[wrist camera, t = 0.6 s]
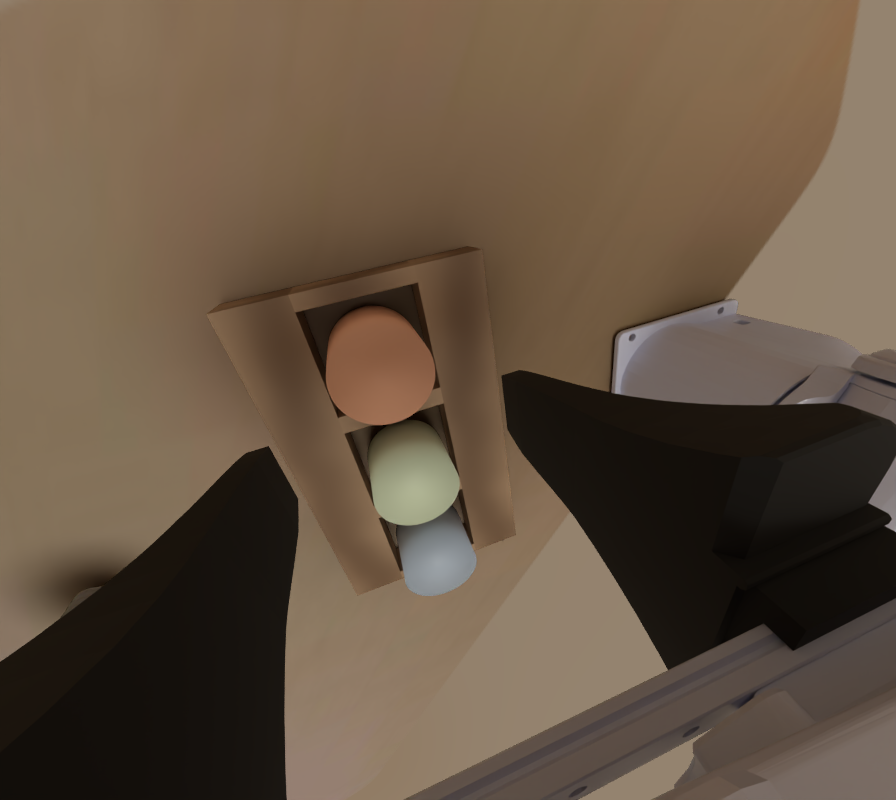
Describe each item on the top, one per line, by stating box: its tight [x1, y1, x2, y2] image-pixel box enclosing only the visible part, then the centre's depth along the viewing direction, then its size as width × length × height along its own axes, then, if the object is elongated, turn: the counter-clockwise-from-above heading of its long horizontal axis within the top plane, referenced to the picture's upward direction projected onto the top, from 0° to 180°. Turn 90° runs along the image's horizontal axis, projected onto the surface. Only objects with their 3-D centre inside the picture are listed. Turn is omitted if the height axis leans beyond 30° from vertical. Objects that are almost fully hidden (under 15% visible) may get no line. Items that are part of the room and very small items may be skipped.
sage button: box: [367, 420, 460, 525], centre depth 19 cm, size 4×4×4 cm
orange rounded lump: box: [326, 306, 435, 425], centre depth 16 cm, size 4×4×4 cm
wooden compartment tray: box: [206, 247, 516, 595], centre depth 21 cm, size 12×20×2 cm, turn 10°
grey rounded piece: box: [396, 505, 477, 596], centre depth 22 cm, size 4×4×4 cm
